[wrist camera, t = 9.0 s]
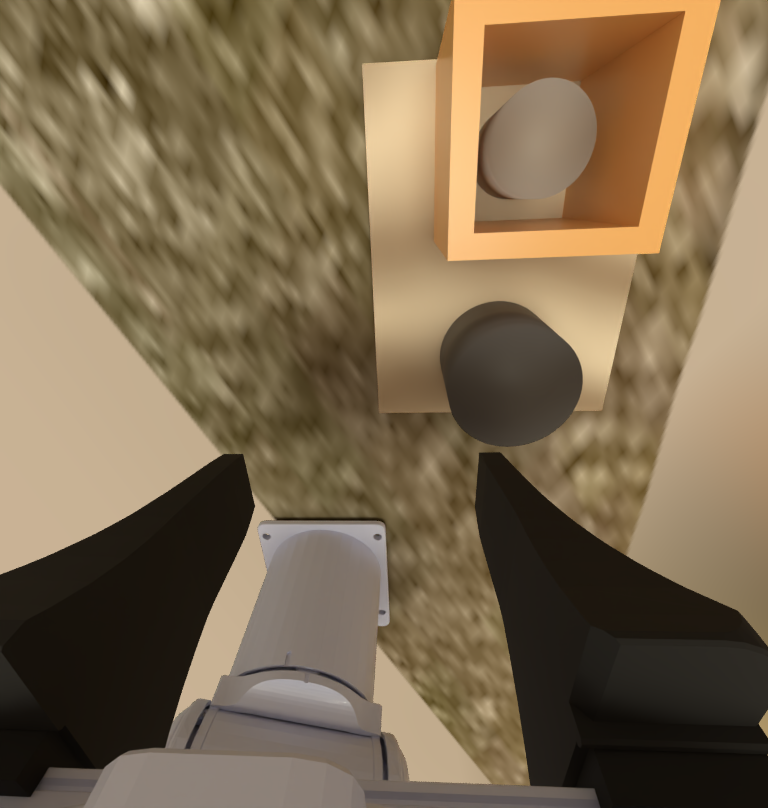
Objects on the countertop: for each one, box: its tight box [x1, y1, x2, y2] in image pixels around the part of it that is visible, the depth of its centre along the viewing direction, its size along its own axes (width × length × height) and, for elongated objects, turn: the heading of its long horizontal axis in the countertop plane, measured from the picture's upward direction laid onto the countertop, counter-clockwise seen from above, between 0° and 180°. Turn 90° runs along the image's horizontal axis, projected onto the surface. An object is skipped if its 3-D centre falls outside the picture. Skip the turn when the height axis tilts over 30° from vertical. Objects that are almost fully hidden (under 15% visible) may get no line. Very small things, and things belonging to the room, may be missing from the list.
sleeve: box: [434, 0, 721, 261], centre depth 13 cm, size 6×6×6 cm
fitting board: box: [362, 59, 637, 447], centre depth 16 cm, size 14×11×5 cm
